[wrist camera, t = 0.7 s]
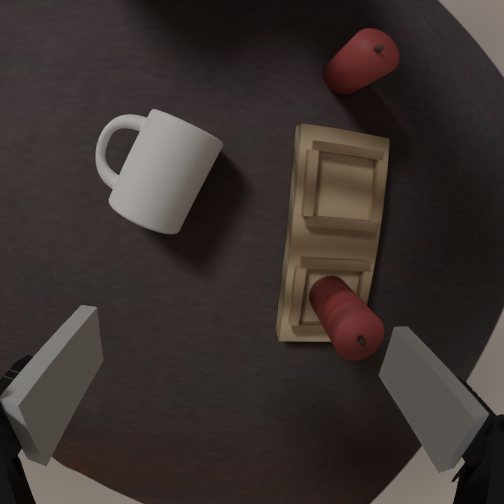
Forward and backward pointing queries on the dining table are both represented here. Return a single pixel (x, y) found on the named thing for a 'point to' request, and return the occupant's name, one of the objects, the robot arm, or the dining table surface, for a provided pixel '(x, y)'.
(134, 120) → the mug
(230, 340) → the dining table surface
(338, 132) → the oak candlestand
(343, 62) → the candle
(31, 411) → the robot arm
